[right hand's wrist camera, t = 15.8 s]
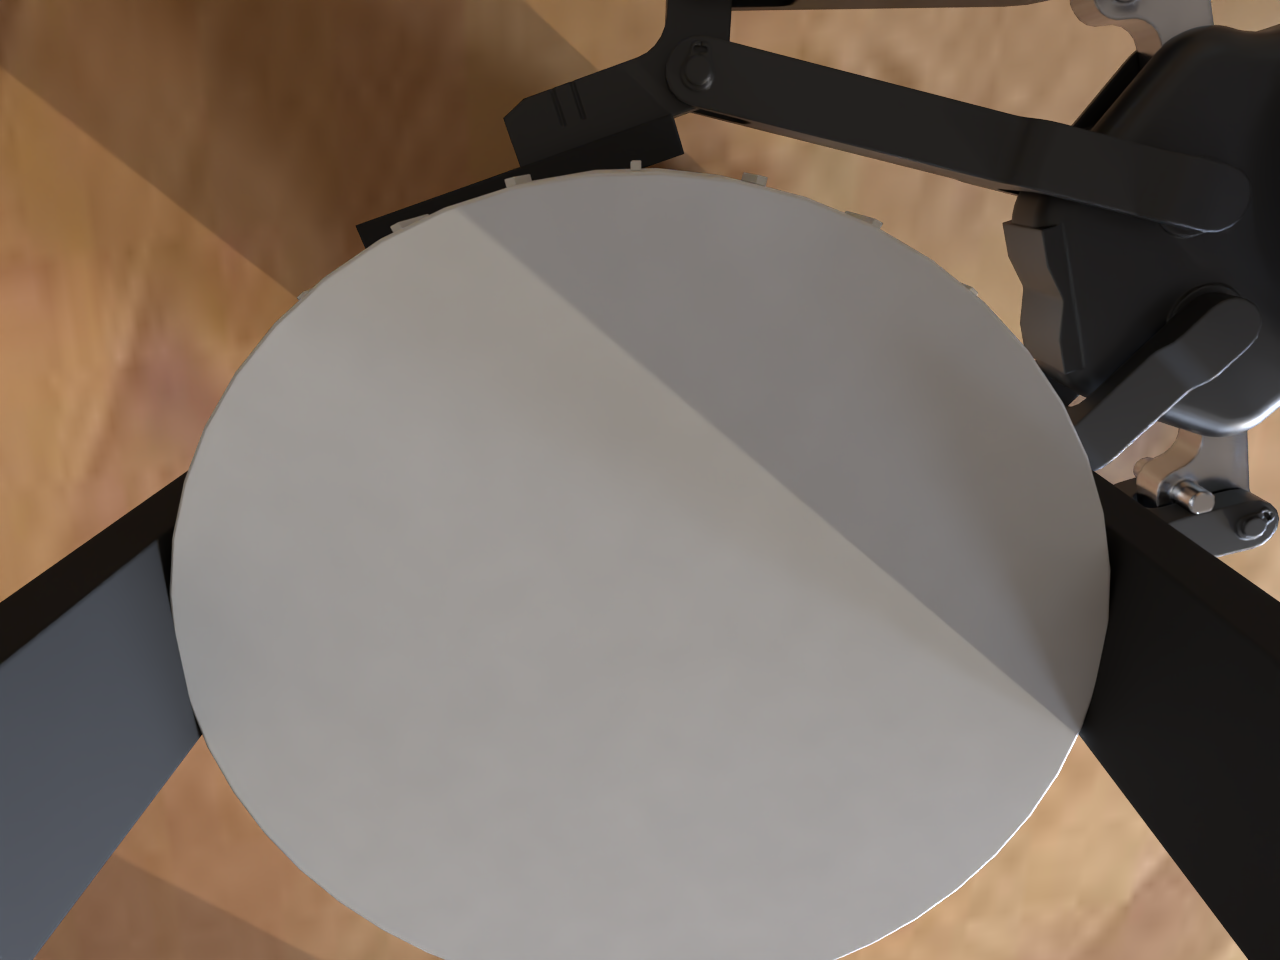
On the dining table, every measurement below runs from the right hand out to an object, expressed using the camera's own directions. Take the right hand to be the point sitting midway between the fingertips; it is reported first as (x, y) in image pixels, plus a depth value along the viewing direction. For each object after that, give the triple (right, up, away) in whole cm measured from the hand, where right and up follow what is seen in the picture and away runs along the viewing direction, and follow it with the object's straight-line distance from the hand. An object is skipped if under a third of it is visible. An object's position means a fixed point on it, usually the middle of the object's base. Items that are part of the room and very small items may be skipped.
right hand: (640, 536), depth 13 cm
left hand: (-4, +1, +7) cm, 8 cm away
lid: (0, -1, -2) cm, 3 cm away
